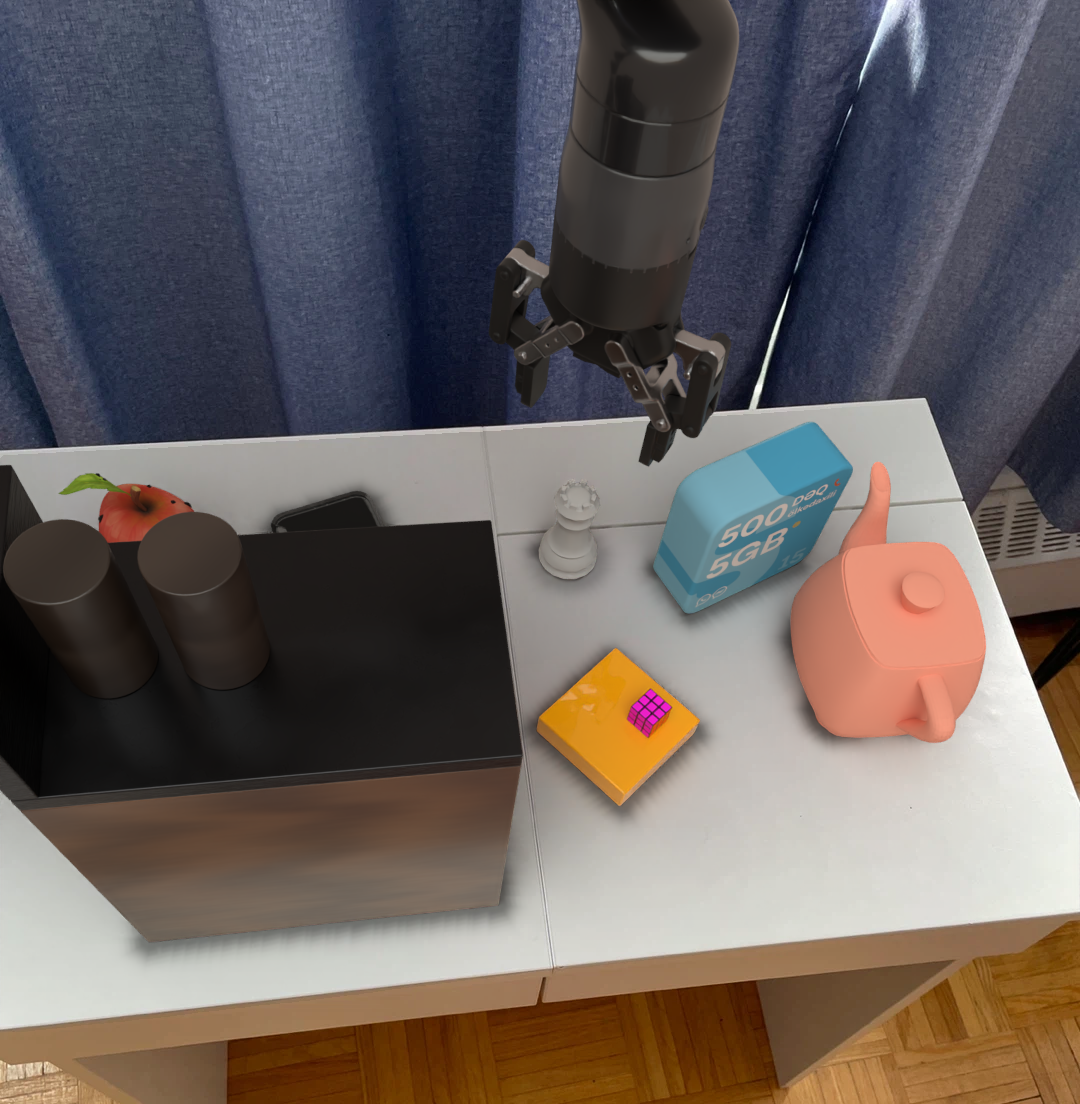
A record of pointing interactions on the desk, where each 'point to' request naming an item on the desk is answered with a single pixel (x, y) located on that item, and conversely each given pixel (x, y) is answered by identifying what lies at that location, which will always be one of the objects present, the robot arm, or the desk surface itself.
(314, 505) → the phone
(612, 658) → the orange square tile
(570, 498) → the rook chess piece
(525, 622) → the desk surface
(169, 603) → the dark brown cylinder
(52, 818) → the wooden panel
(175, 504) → the apple
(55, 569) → the dark brown cylinder
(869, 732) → the teapot
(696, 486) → the data package
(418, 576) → the black flat slab
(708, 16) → the robot arm
